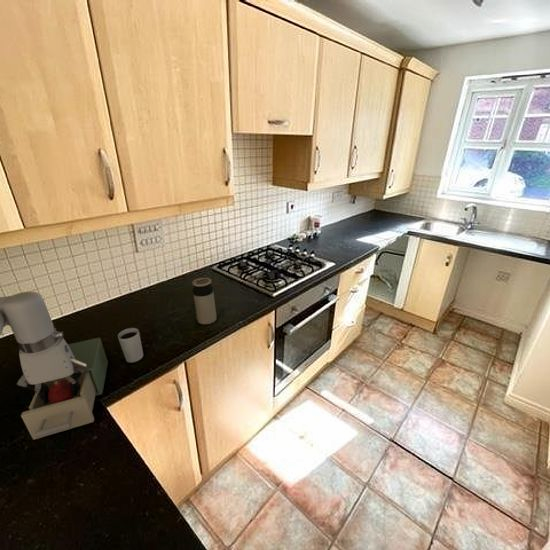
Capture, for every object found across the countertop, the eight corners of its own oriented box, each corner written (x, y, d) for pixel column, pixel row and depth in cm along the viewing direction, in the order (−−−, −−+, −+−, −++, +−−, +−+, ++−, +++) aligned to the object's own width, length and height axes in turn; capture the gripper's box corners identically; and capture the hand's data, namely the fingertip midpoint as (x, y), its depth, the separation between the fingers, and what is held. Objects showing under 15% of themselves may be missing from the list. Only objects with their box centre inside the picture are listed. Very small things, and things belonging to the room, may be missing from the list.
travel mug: (220, 317, 129) (215, 279, 121) (208, 326, 122) (203, 287, 115) (205, 313, 132) (200, 275, 125) (193, 322, 126) (187, 283, 118)
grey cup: (137, 348, 110) (131, 325, 106) (148, 355, 107) (142, 331, 103) (120, 359, 105) (113, 335, 101) (131, 365, 102) (124, 341, 98)
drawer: (90, 437, 76) (81, 412, 73) (26, 457, 72) (13, 432, 68) (100, 384, 93) (93, 363, 89) (48, 398, 88) (39, 376, 85)
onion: (82, 400, 83) (73, 377, 80) (60, 415, 78) (49, 392, 75) (71, 392, 86) (62, 370, 82) (48, 406, 81) (38, 384, 78)
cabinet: (102, 394, 90) (93, 367, 86) (44, 410, 86) (31, 382, 81) (107, 362, 104) (100, 337, 100) (58, 374, 99) (47, 348, 95)
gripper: (81, 324, 80) (100, 377, 87) (2, 341, 74) (28, 396, 81) (76, 340, 73) (96, 396, 80) (-12, 359, 68) (18, 417, 75)
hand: (62, 395), depth 81 cm, fingers closed on onion, 5 cm apart
